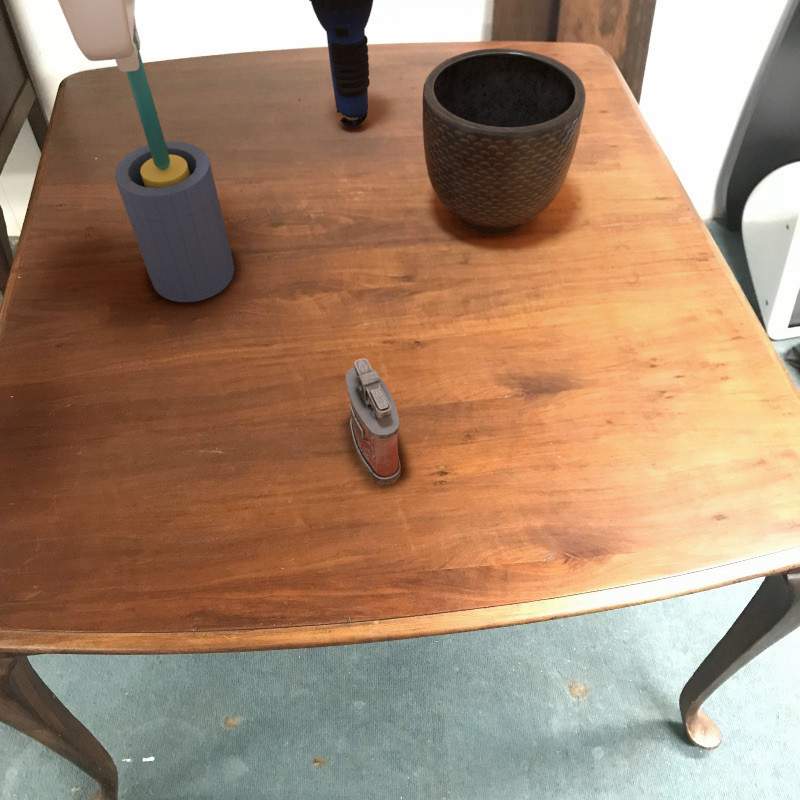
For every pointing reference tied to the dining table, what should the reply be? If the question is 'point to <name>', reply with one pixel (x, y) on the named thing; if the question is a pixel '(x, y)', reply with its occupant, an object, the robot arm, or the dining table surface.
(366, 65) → the flashlight
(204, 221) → the jar
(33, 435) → the dining table surface
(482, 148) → the planter
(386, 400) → the lighter
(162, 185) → the brush
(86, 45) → the robot arm
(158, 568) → the dining table surface
